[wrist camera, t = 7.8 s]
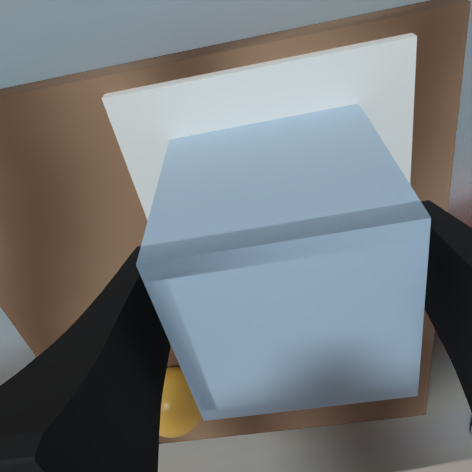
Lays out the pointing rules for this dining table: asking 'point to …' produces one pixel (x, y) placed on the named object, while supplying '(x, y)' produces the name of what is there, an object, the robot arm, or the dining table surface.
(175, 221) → the light blue cube
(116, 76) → the board
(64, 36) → the dining table surface
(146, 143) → the pad
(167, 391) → the marble
